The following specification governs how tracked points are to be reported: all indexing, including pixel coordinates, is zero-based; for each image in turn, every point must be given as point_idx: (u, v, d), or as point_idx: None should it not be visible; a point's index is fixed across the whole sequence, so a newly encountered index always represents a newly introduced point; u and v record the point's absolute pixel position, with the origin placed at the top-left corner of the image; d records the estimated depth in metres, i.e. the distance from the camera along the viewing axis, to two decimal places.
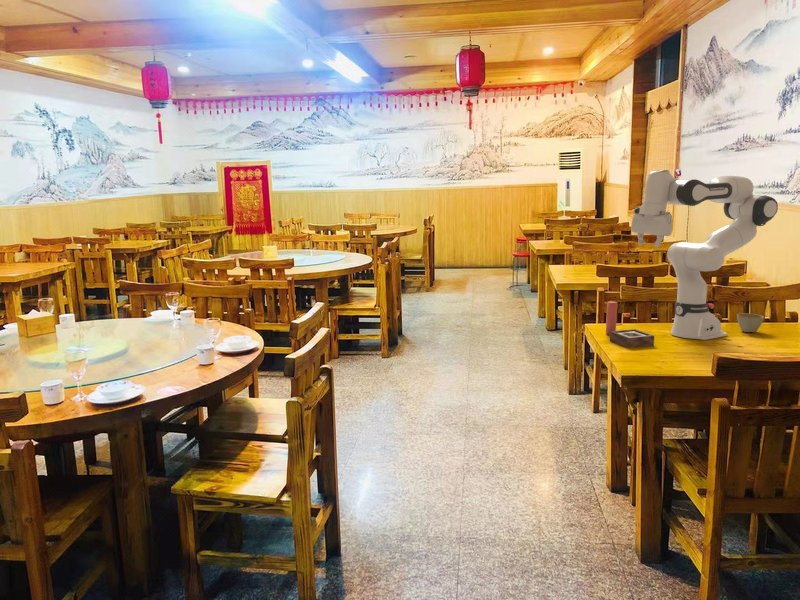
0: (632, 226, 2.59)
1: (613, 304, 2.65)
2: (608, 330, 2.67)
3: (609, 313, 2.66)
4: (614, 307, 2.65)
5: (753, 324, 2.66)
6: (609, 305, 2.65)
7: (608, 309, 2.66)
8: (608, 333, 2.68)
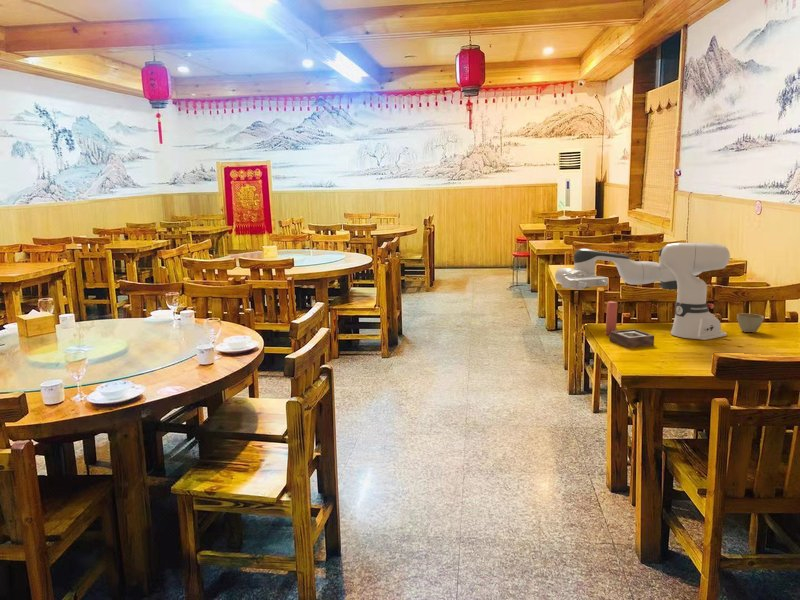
0: (569, 279, 2.80)
1: (613, 304, 2.65)
2: (608, 330, 2.67)
3: (609, 313, 2.66)
4: (614, 307, 2.65)
5: (753, 324, 2.66)
6: (609, 305, 2.65)
7: (608, 309, 2.66)
8: (608, 333, 2.68)
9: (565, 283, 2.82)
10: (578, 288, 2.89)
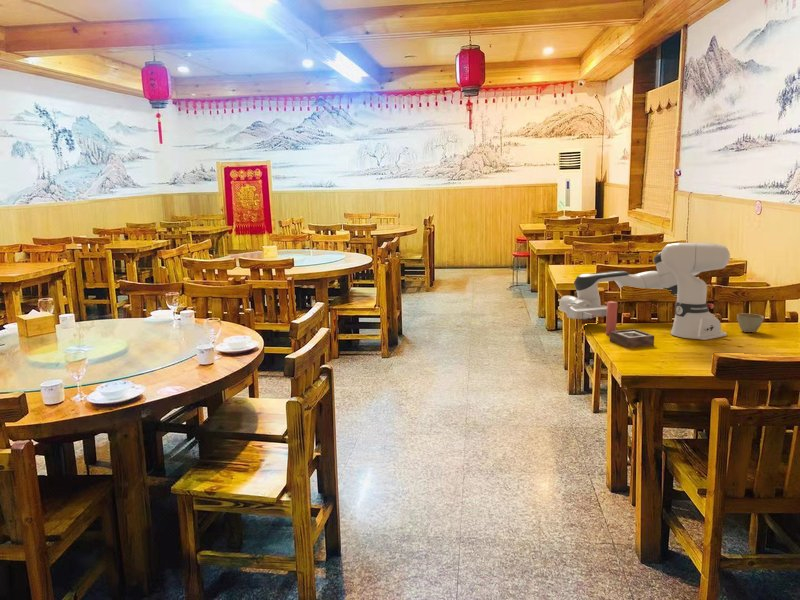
0: (574, 309, 2.77)
1: (613, 304, 2.65)
2: (608, 330, 2.67)
3: (609, 313, 2.66)
4: (614, 307, 2.65)
5: (753, 324, 2.66)
6: (609, 305, 2.65)
7: (608, 309, 2.66)
8: (608, 333, 2.68)
9: (570, 314, 2.79)
10: (583, 318, 2.86)
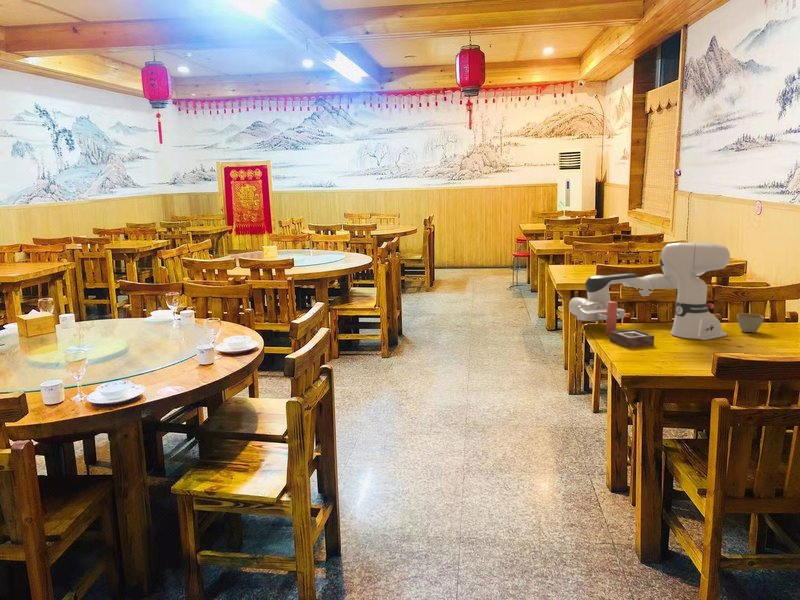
0: (585, 311, 2.70)
1: (613, 304, 2.65)
2: (608, 330, 2.67)
3: (609, 313, 2.66)
4: (614, 307, 2.65)
5: (753, 324, 2.66)
6: (609, 305, 2.65)
7: (608, 309, 2.66)
8: (608, 333, 2.68)
9: (580, 315, 2.72)
10: (593, 320, 2.79)
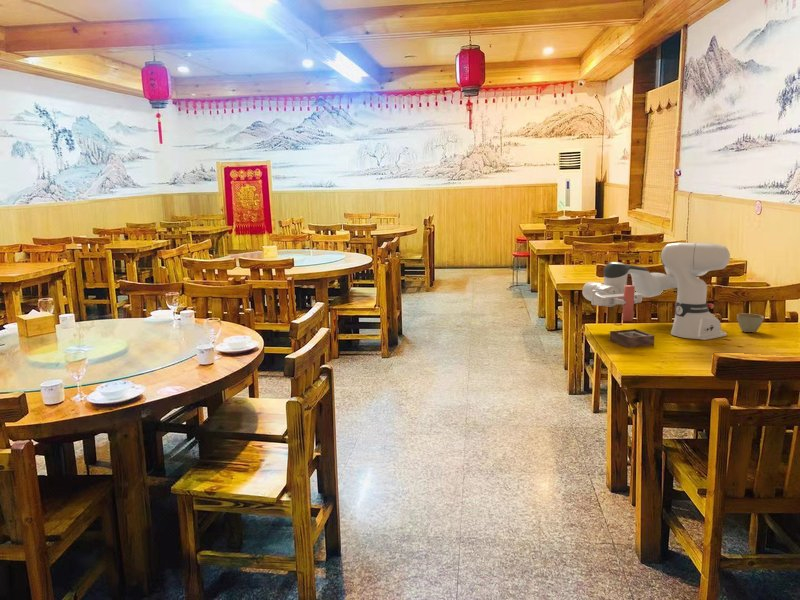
0: (600, 295, 2.57)
1: (630, 288, 2.51)
2: (625, 315, 2.54)
3: (626, 297, 2.53)
4: (632, 291, 2.51)
5: (753, 324, 2.66)
6: (626, 289, 2.52)
7: (625, 293, 2.53)
8: (625, 318, 2.54)
9: (596, 300, 2.59)
10: (609, 305, 2.65)
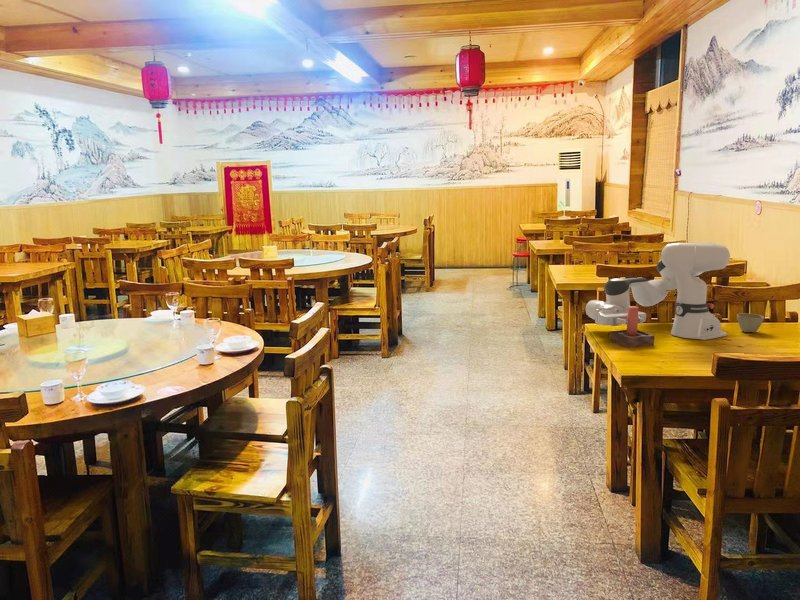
0: (604, 315, 2.56)
1: (634, 309, 2.50)
2: (629, 336, 2.53)
3: (629, 318, 2.52)
4: (635, 312, 2.50)
5: (753, 324, 2.66)
6: (630, 310, 2.51)
7: (629, 314, 2.52)
8: None
9: (599, 319, 2.58)
10: (613, 324, 2.64)
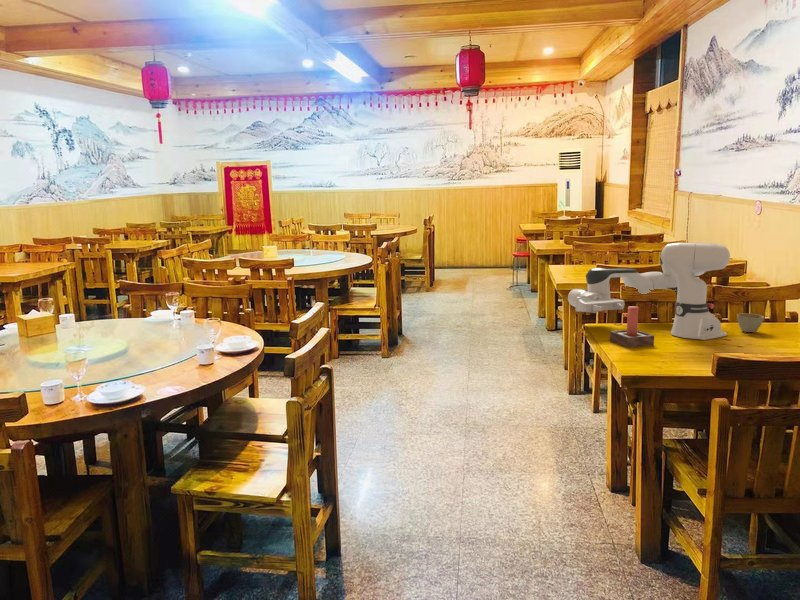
0: (583, 302, 2.68)
1: (634, 309, 2.50)
2: (629, 336, 2.53)
3: (630, 318, 2.51)
4: (635, 312, 2.50)
5: (753, 324, 2.66)
6: (630, 310, 2.51)
7: (629, 314, 2.52)
8: None
9: (579, 307, 2.70)
10: (593, 311, 2.76)
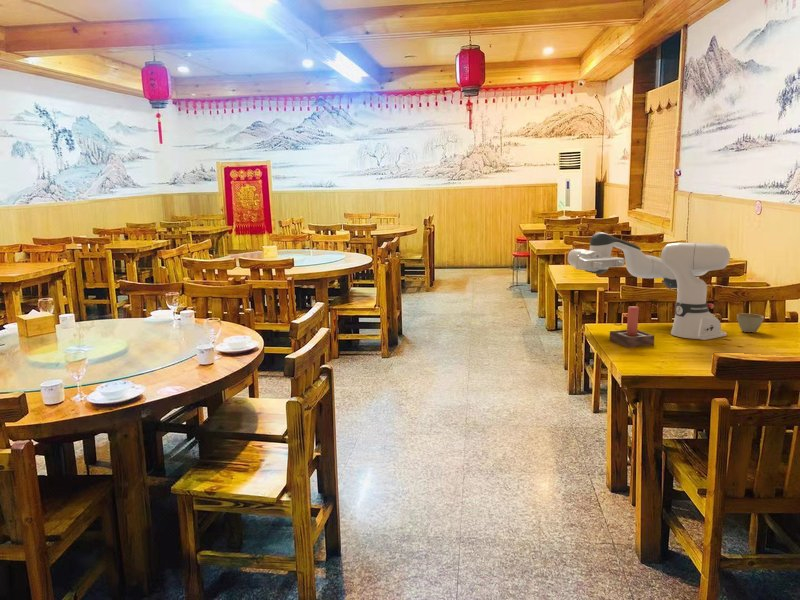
0: (583, 259, 2.67)
1: (634, 309, 2.50)
2: (629, 336, 2.53)
3: (630, 318, 2.51)
4: (636, 312, 2.50)
5: (753, 324, 2.66)
6: (630, 310, 2.51)
7: (629, 314, 2.52)
8: None
9: (579, 264, 2.69)
10: (592, 270, 2.75)
